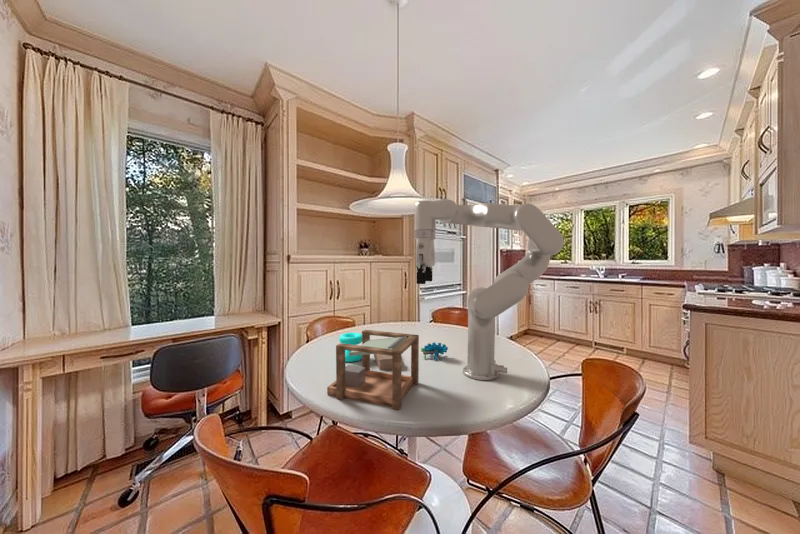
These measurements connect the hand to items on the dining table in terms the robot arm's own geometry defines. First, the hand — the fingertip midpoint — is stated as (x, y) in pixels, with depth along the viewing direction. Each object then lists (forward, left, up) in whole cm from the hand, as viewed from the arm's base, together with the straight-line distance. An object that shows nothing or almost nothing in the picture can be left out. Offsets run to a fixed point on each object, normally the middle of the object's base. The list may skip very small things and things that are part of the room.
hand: (424, 282), depth 115 cm
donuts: (+32, -3, -34) cm, 46 cm away
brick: (+17, -4, -34) cm, 38 cm away
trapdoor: (+9, +20, -19) cm, 29 cm away
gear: (0, -16, -34) cm, 37 cm away
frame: (+11, +20, -33) cm, 40 cm away
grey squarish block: (+16, +20, -30) cm, 39 cm away
